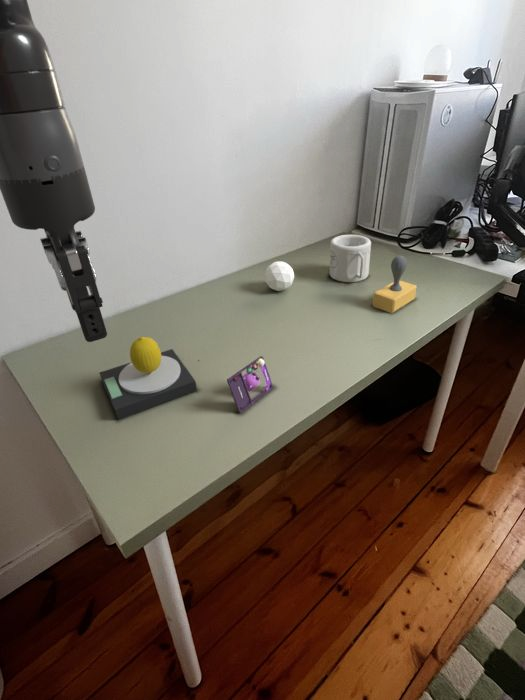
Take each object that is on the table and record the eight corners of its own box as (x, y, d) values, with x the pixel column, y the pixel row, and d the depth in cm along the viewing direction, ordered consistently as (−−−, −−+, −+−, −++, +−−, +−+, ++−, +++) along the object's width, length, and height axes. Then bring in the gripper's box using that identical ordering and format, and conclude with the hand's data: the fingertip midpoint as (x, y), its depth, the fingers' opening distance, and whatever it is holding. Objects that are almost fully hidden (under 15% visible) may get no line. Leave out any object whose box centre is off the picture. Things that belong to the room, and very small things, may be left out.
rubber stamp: (395, 292, 111) (401, 247, 105) (415, 299, 108) (422, 253, 101) (372, 306, 106) (376, 259, 99) (392, 313, 102) (398, 266, 96)
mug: (323, 270, 125) (324, 236, 119) (358, 265, 127) (361, 231, 121) (341, 290, 114) (343, 253, 108) (379, 283, 116) (383, 248, 110)
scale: (118, 420, 76) (114, 407, 75) (102, 382, 86) (98, 369, 84) (197, 390, 82) (194, 378, 80) (174, 358, 92) (171, 346, 90)
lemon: (169, 366, 84) (162, 331, 79) (155, 383, 80) (146, 347, 75) (145, 362, 85) (136, 327, 81) (129, 379, 81) (119, 343, 77)
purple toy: (230, 380, 73) (265, 356, 79) (212, 377, 77) (246, 354, 82) (243, 413, 75) (276, 388, 81) (224, 409, 79) (257, 385, 85)
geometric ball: (274, 300, 117) (256, 282, 112) (279, 279, 121) (261, 260, 117) (297, 291, 112) (279, 272, 108) (301, 270, 117) (284, 250, 112)
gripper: (-8, 162, 43) (45, 306, 52) (-4, 188, 33) (63, 363, 42) (70, 151, 46) (108, 290, 55) (97, 173, 35) (139, 340, 44)
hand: (89, 321), depth 48 cm, fingers open, 8 cm apart
